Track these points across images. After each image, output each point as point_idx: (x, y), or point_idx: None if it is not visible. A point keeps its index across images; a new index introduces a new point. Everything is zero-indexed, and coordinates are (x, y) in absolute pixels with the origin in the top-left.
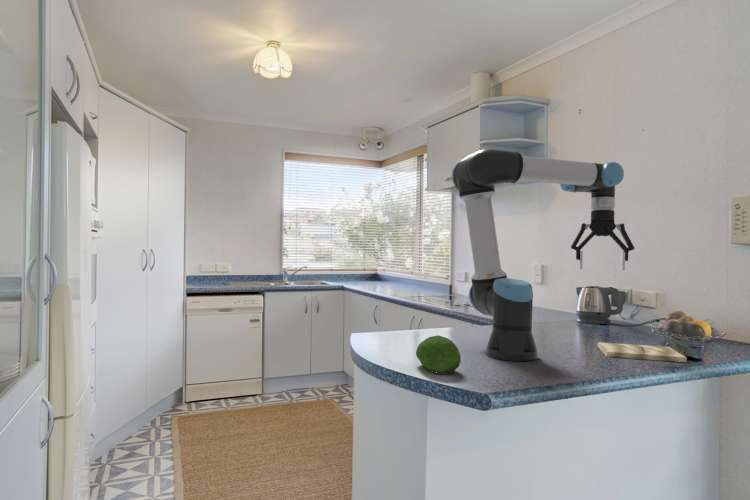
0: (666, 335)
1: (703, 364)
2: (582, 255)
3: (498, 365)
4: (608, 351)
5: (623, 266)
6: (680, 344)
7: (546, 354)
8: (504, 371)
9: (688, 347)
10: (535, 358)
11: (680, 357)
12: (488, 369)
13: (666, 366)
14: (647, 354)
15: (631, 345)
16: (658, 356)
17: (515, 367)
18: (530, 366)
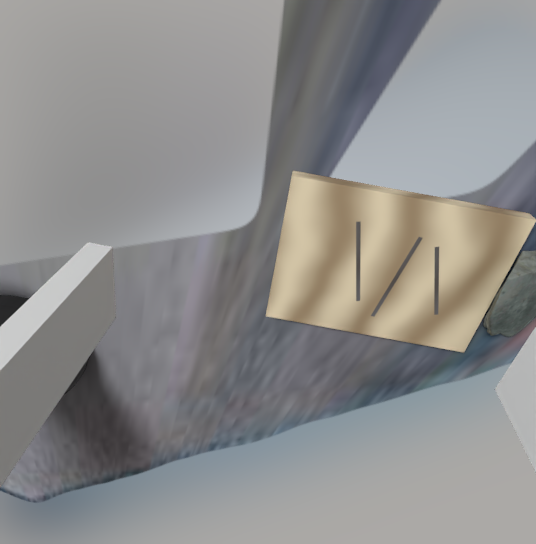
0: (507, 286)
1: (491, 356)
2: (26, 448)
3: None
4: (271, 312)
5: (523, 426)
6: (496, 329)
7: None
8: None
9: (524, 319)
10: (82, 373)
11: (448, 348)
12: None
13: (373, 379)
14: (369, 332)
15: (397, 215)
16: (395, 337)
17: None
18: (78, 398)
